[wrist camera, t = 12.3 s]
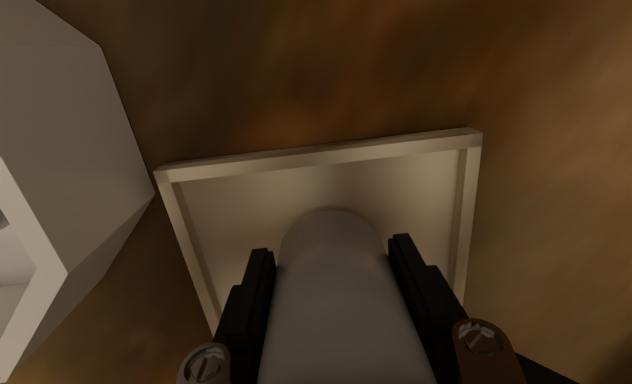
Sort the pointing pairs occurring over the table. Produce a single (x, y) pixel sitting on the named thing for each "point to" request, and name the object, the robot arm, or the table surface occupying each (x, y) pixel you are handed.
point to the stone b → (339, 310)
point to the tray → (323, 201)
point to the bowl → (58, 175)
